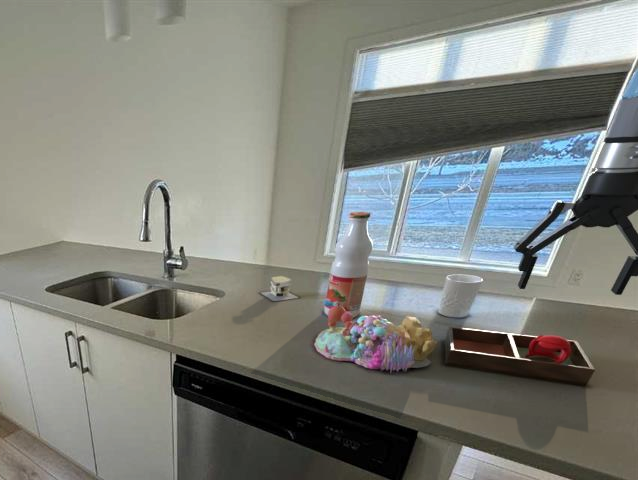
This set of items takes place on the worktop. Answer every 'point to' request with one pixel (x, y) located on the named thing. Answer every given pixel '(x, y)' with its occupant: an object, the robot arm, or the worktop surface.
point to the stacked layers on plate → (279, 289)
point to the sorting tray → (513, 356)
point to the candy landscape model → (375, 341)
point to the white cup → (459, 294)
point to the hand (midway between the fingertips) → (566, 289)
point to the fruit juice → (350, 266)
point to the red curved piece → (550, 347)
